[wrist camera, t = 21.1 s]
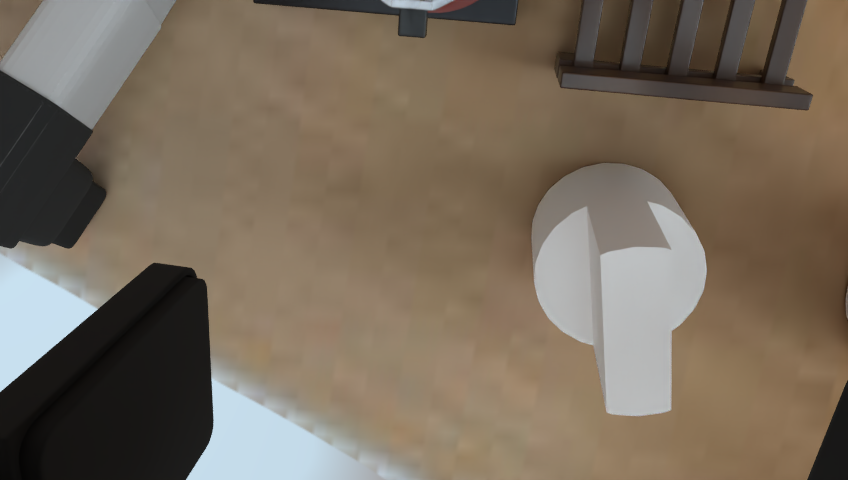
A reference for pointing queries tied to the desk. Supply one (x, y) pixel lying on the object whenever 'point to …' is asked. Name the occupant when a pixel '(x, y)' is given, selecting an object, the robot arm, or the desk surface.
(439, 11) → the hot plate
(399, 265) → the desk surface
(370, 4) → the hob
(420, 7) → the steel pot
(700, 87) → the drying rack
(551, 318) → the base with upright slab
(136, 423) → the robot arm
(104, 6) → the handheld device
